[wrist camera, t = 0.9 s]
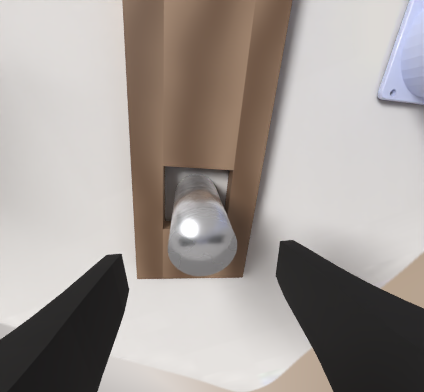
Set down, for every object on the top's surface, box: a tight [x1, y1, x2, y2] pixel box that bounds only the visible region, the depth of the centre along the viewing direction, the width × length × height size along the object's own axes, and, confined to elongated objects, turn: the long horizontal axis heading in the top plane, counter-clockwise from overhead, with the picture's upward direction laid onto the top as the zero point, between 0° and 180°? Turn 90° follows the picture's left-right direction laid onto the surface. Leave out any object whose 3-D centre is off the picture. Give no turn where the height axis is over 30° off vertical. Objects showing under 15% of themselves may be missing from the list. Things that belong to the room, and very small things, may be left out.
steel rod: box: [168, 174, 237, 276], centre depth 14 cm, size 4×4×8 cm
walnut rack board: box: [122, 0, 292, 279], centre depth 14 cm, size 10×32×2 cm, turn 175°
